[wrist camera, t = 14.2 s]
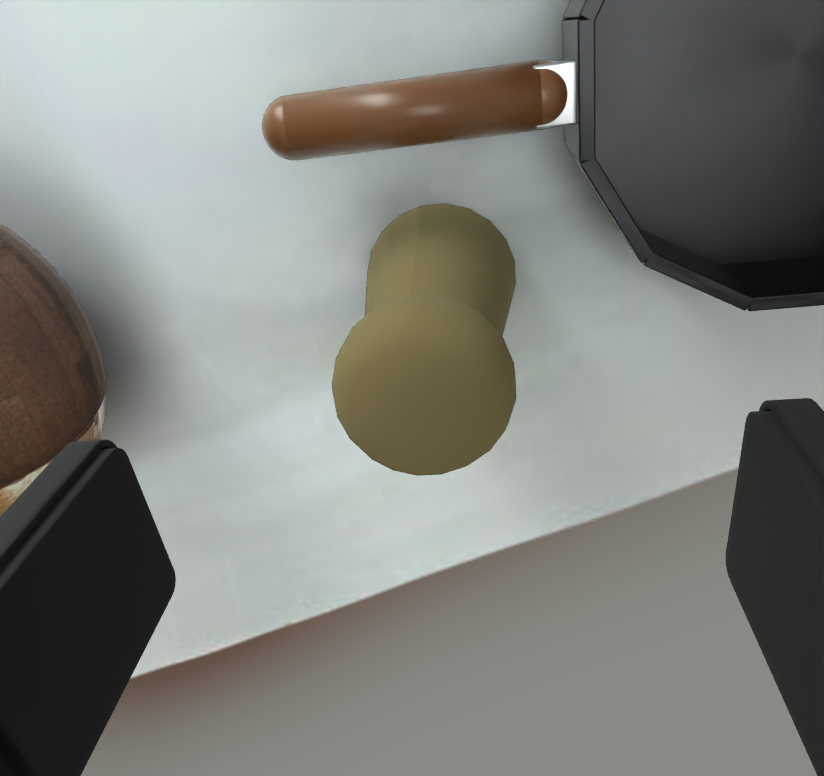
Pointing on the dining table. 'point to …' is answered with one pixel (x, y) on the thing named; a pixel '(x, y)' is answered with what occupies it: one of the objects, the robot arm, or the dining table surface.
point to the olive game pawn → (430, 344)
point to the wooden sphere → (42, 368)
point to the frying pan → (641, 132)
